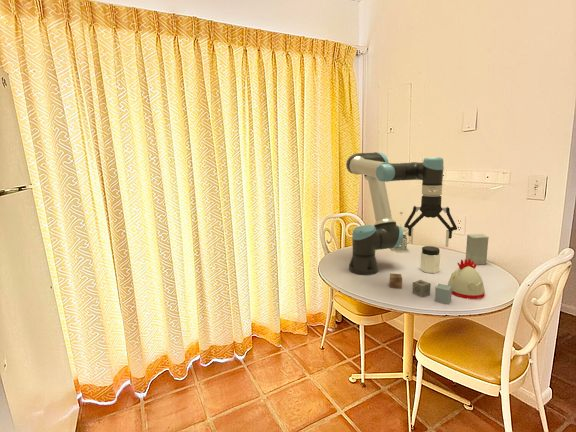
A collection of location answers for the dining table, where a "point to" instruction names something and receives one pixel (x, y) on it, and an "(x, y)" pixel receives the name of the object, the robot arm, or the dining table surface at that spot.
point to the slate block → (443, 293)
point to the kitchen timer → (467, 281)
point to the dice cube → (421, 288)
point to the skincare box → (477, 248)
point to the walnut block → (395, 280)
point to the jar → (430, 259)
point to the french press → (404, 242)
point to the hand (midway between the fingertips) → (428, 244)
